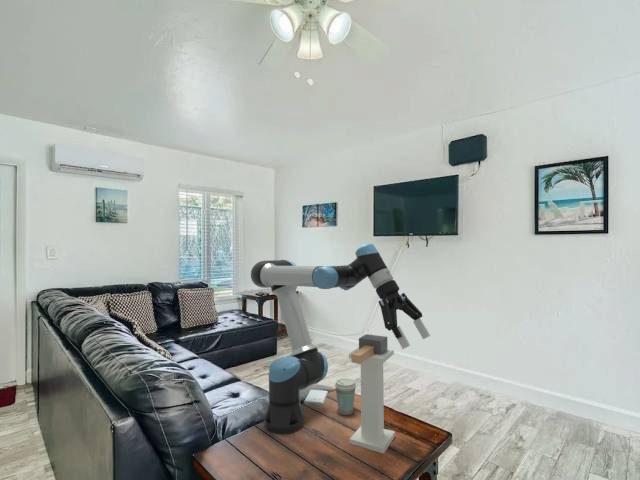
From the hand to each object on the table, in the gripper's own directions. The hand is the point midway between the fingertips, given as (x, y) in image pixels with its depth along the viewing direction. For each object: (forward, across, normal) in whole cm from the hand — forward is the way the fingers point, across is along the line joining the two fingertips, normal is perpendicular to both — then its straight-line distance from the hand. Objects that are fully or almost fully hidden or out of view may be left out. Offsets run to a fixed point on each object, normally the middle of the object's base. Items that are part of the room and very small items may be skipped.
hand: (417, 342), depth 109 cm
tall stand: (+21, -4, +33) cm, 39 cm away
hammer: (-4, -7, +15) cm, 17 cm away
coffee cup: (+11, +6, +50) cm, 51 cm away
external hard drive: (+2, +7, +65) cm, 65 cm away
